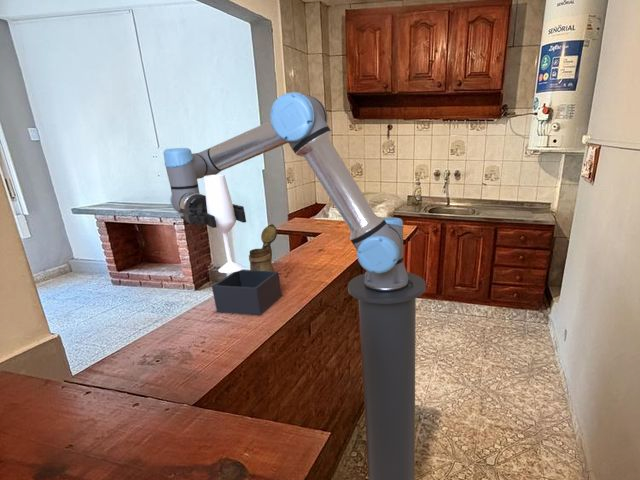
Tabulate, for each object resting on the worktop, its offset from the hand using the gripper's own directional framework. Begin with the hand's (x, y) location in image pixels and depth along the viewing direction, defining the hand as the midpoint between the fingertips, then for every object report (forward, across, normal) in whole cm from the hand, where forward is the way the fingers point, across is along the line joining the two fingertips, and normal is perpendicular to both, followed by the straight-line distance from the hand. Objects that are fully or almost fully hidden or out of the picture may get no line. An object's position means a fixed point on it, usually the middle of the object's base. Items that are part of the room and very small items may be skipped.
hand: (229, 219), depth 97 cm
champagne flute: (-5, 0, -14) cm, 15 cm away
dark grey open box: (-11, -6, -28) cm, 30 cm away
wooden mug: (-25, -18, -28) cm, 42 cm away
